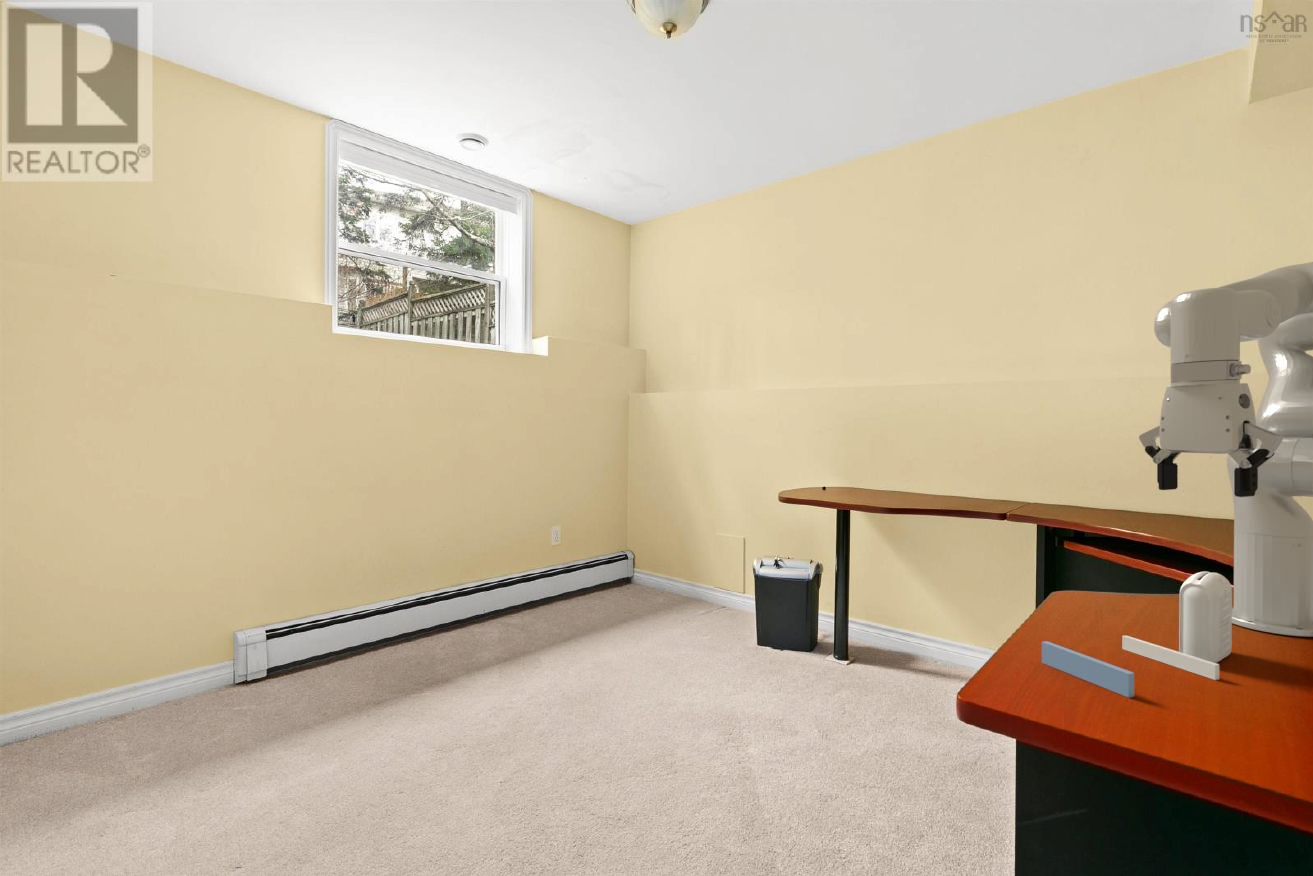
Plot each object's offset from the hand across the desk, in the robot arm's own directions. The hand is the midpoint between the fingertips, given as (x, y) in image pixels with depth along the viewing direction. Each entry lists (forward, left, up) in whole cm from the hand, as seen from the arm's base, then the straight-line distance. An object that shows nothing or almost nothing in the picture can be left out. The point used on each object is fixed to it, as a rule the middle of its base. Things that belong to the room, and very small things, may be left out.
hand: (1204, 492), depth 89 cm
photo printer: (0, 0, -24) cm, 24 cm away
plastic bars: (+16, 0, -24) cm, 29 cm away
